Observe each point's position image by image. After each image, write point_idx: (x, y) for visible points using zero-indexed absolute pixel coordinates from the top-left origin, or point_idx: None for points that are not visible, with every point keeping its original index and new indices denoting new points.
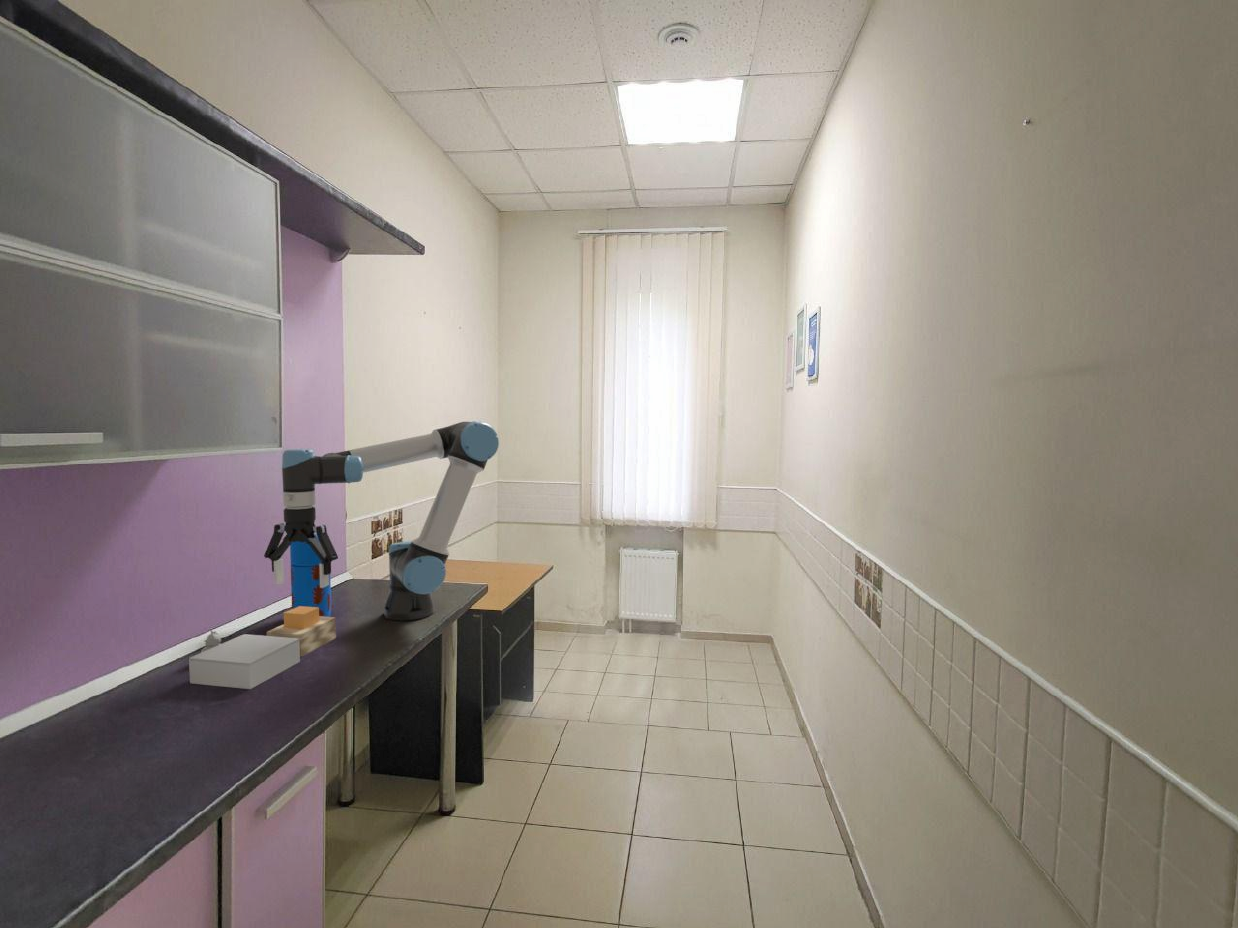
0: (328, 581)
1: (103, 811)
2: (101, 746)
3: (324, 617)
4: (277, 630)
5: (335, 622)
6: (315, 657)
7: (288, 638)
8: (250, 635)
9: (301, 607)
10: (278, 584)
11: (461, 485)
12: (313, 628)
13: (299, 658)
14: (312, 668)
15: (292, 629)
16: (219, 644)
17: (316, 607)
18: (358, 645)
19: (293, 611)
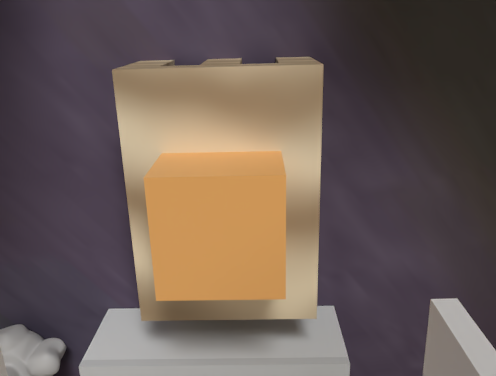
0: (472, 327)
1: None
2: None
3: (260, 80)
4: None
5: (319, 62)
6: (364, 264)
7: (304, 371)
8: (120, 373)
9: (178, 198)
10: (4, 366)
11: None
12: (318, 239)
13: (335, 314)
14: (413, 340)
15: None
16: (16, 370)
17: (271, 178)
18: (467, 121)
19: (191, 271)
